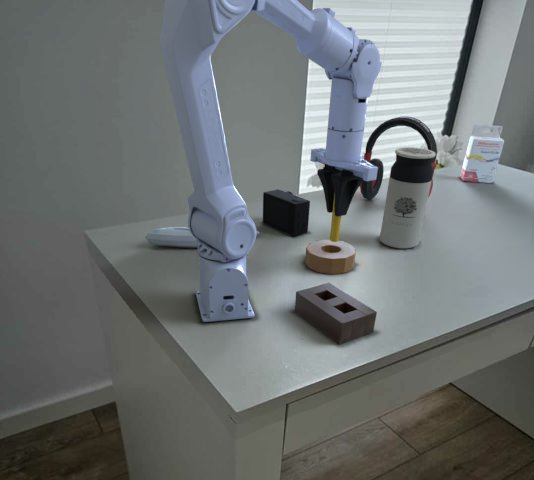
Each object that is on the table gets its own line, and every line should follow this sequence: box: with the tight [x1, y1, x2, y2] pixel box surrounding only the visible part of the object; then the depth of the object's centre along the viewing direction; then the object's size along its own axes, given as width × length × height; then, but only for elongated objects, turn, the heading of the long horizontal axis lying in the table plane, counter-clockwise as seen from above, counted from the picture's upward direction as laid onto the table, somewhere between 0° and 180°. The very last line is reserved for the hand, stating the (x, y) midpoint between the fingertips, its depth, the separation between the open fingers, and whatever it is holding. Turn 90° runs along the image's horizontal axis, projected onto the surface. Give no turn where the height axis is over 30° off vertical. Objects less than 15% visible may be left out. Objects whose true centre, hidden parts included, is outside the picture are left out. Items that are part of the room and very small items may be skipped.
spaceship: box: [144, 226, 260, 248], centre depth 98 cm, size 23×7×4 cm, turn 107°
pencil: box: [329, 192, 342, 242], centre depth 85 cm, size 2×2×10 cm
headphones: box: [359, 115, 438, 200], centre depth 119 cm, size 18×10×20 cm, turn 58°
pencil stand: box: [294, 282, 378, 345], centre depth 74 cm, size 6×11×4 cm, turn 33°
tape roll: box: [304, 239, 357, 275], centre depth 92 cm, size 9×9×3 cm
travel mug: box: [379, 146, 436, 249], centre depth 98 cm, size 8×8×18 cm
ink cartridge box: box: [459, 124, 505, 184], centre depth 142 cm, size 9×5×15 cm, turn 82°
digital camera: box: [262, 188, 311, 238], centre depth 106 cm, size 10×5×7 cm, turn 40°
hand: (336, 213), depth 85 cm, fingers closed on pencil, 1 cm apart
